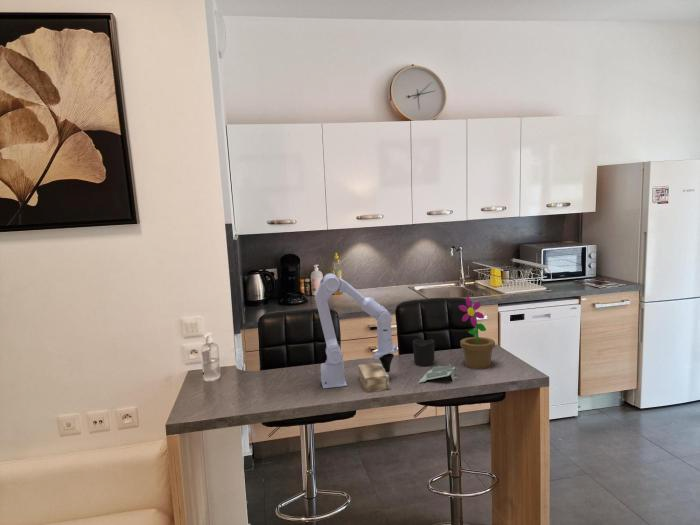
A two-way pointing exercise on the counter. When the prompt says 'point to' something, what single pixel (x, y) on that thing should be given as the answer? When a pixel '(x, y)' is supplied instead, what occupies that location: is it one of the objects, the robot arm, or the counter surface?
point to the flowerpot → (476, 339)
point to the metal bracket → (439, 373)
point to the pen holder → (423, 352)
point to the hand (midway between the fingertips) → (386, 371)
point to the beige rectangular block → (373, 377)
